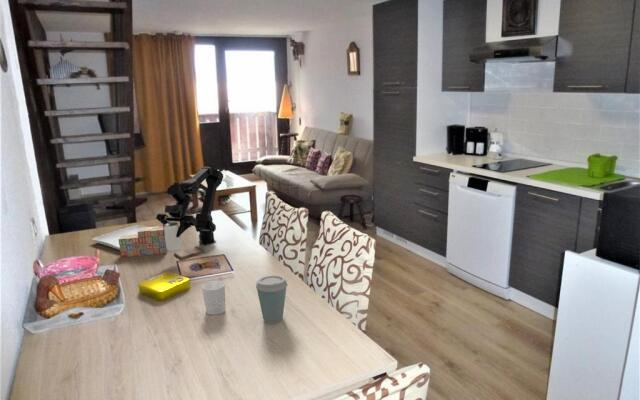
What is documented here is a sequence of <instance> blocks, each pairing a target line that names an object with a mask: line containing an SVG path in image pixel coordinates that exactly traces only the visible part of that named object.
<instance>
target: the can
mask: <svg viewBox="0 0 640 400" xmlns="http://www.w3.org/2000/svg"><path fill="white" fill-rule="evenodd" d="M179 226H180V225H179V224H178V222H177V221H170V223H166V224H165V227H164V233H165V241H166V248H167V250H168V252H178V251H181V249H182V241H181V235H180V236H179V237H176V235H177V232H178V229H179Z"/></svg>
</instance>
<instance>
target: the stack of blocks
mask: <svg viewBox="0 0 640 400" xmlns="http://www.w3.org/2000/svg"><path fill="white" fill-rule="evenodd" d="M146 227H147V228H146ZM146 227H145V228H140V229H139V230H138V234H131V235H122V236H121V237H120V238H119V245H120V250H119V251H120V257H122V258H124V257H125V258H127V257H139V256H148V255H163V254H167V253H168V252H169V251H168V250H167V248H166V241H165V236H164V235H163V225H162V226H146Z"/></svg>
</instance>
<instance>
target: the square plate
mask: <svg viewBox="0 0 640 400" xmlns="http://www.w3.org/2000/svg"><path fill="white" fill-rule="evenodd" d="M145 227H146V228H147V227H148V226H146V225H140V224H134V225H132V226H127V227H124V228H121V229H117V230H115V231H111V232H108V233H104V234H103V235H99V236H95V237H93V238H92V239H91V240H92V241H93V242H95V243H97V244H101V245H104V246H107V247H110V248H113V249H116V250H118V251H120V245H119V238H120V237H121V236H122V235H131V234H138V230H139V229H140V228H145Z"/></svg>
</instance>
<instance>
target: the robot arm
mask: <svg viewBox="0 0 640 400" xmlns="http://www.w3.org/2000/svg"><path fill="white" fill-rule="evenodd" d="M223 179H224V173H222V171H221V170H219V169H218V170H217V169H214V168H213V167H210V166H202V167H201V168H200V169H199V171H198V172H196V173H195V174H194V175H193V176H192V177H191V178H189V179H186V180H184V181H182V182H181V183H179V182H174V183H173V184H171V185H169V187H168V188H167V191H166V192H167V194H168V195H169V196H170V197H171V198H172V200H174V201H176V203H175V204H173V205H170V204H169V205H165V207H164V213H157V214H156V217H155V219H156V220H157V221H158V222H159V223H161V224H162V226H163V235H164V236H165V233H164V227H165V224H166V223H170V222H176V223H178V222H179V225H178V226H179V229H178V232H177V235H176V237H179V236H180V237H181V235H182V234H183V233H184V232H185V231H187V230H188V229H189V228H191V227H194V228H195V231H196V232H198V233H199V234H198V240H199V241H198V243H200V244H201V245H204V246H207V245H209V244H213V243H216V242H217V240H215V235H214V232H216V230H217V225H216V224H215V223H214V222H213V221H214V219H213V217H212V210H213V206H214V201H215V198H216V193H217V189H218V188H219V186H220V185H222V182H223ZM204 181H205V182H206V185H207V186H206V189H205V194H204V198H203V201H202V206H201V210H200V212H199V213H196V214H195V217H194V215H192V214H188V213H189V210H188V209H189V206H190V204H191V203H193V202H194V200H193V197H192V196H191V195H195V194H196V193H197V192H198V191H199V186H200V185H201V184H202V183H203V182H204ZM166 213H167V214H168V215H167V214H166Z"/></svg>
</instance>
